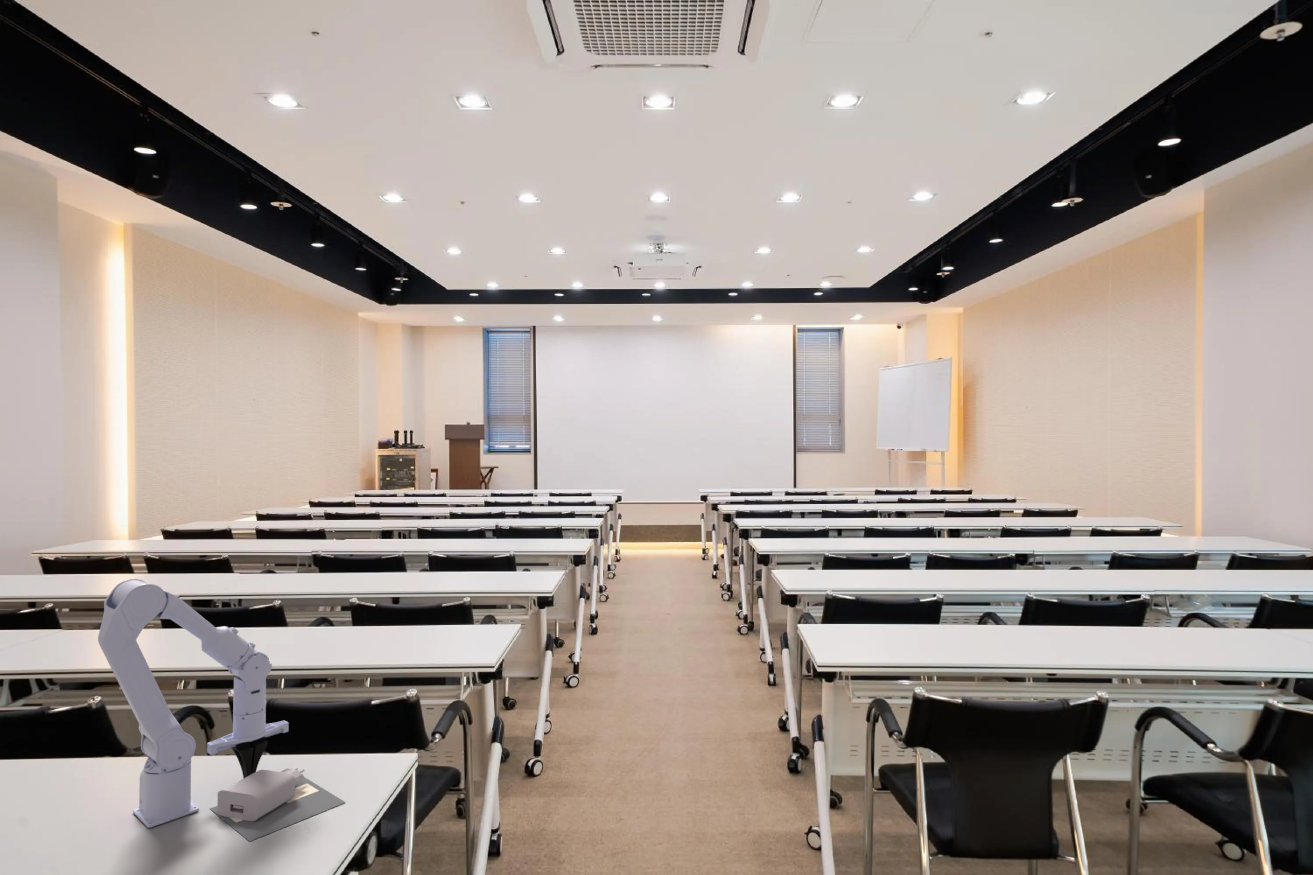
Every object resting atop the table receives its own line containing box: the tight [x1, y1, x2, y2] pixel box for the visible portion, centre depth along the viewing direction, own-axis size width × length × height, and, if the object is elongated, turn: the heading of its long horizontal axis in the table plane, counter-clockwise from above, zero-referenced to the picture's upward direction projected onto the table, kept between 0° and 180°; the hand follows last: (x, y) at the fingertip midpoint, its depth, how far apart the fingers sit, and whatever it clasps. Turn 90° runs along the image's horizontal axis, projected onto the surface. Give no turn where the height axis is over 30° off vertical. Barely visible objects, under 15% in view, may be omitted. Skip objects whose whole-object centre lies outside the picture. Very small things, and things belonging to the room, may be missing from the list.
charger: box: [216, 767, 305, 821], centre depth 134 cm, size 5×9×15 cm
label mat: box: [209, 776, 347, 843], centre depth 132 cm, size 18×17×1 cm
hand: (248, 777), depth 140 cm, fingers closed
